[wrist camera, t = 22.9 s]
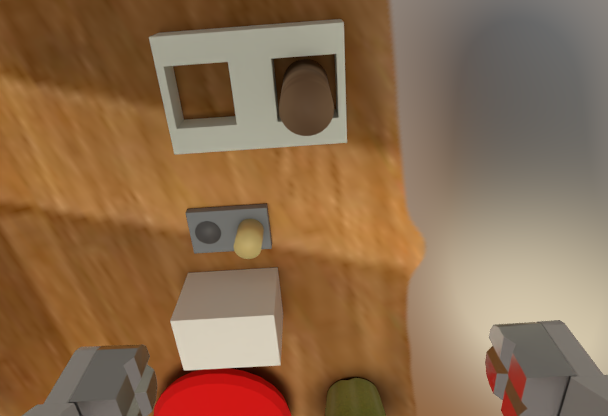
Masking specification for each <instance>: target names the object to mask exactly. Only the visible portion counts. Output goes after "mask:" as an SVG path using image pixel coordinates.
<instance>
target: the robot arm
mask: <svg viewBox="0 0 608 416" xmlns="http://www.w3.org/2000/svg"><path fill="white" fill-rule="evenodd" d="M489 339H490V341H491V343H492V345H493V346H492V347H491V348H490V349H489V350H488V351H487V354H486V361H485V364H486V374H487V378H488V381H489V384H490V387H491V389H492V391H493V393H494V394H495V395H496V396H498V397H499V398H500V399H502V400H503V403H502V408H501V411H502V413H503V415H504V416H608V375H603V374H602V372H601V371H600V370H599V368H598V367H597V366H596V364H595V363H594V362H593V360H592V359H591V358H590V356H589V355H588V354H587V352H586V351H585V350H584V348H583V347H582V346H581V345H580V343H579V342H578V340H577V339H576V338H575V337H574V335H573V334H572V333H571V331H570V330H569V329H568V327H567V326H566V325H565V323H563V322H562V321H560V320H556V321H542V322H529V323H515V324H514V323H513V324H499V325H493V326H492V328H491V329H490V335H489ZM149 357H150V355H149V353H148V350H147V347H146V346H145V345H112V346H96V347H80V348H79V349H77V350H76V351H75V352H74V354H73V356H72V357H71V359H70V361H69V362H68V364H67V366H66V367H65V369H64V371H63V372H62V374H61V376H60V377H59V379H58V381H57V382H56V384H55V386H54V387H53V389H52V391H51V392H50V394H49V396H48V397H47V399H46V401H45V402H44V404H42V405H36V406H35V407H33V408H32V409H30V410H29V411H28V412H26V413H25V414H24V415H22V416H147V415H148V414H149V413H151V412H152V410H153V407H154V404H155V401H156V393H157V379H156V375H155V371H154V369H152V368H151V367H150V366H148V365H147V362H148V360H149Z"/></svg>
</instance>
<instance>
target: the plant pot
mask: <svg viewBox="0 0 608 416" xmlns="http://www.w3.org/2000/svg"><path fill="white" fill-rule="evenodd" d="M325 416H386V414H385V411H384V408H383V405H382V402H381V399H380V396H379V393H378V390H377V388H376V387H375V386H374V385H373V384H372V383H371V382H369V381H367V380H365V379H361V378H353V379H350V380H340V381H338V382H336V383H335V384H333V385H332V386H331V387H330V389H329V390H328V392H327V399H326V408H325Z"/></svg>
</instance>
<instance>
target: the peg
mask: <svg viewBox="0 0 608 416" xmlns="http://www.w3.org/2000/svg"><path fill="white" fill-rule="evenodd" d="M279 114H280V118H281V120H282V122H283V124H284V125H285V127H286V128H287V129H288V130H290V131H291V132H293V133H295V134H297V135H301V136H312V135H316V134H318V133H320V132H322V131H323V130H324V129H326V128H327V126H328V125H329V124H330V122H331V120H332V118H333V115H334V103H333V99H332V95H331V91H330V86H329V82H328V78H327V74H326V72H325V70H324V69H323V67H322V66H321V65H320V64H319V63H317V62H315V61H313V60H309V59H302V60H298V61H296V62H294V63H292V64H291V65H290V66H289V67H288V69H287V70H286V72H285V74H284V78H283V84H282V90H281V97H280V103H279Z"/></svg>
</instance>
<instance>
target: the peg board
mask: <svg viewBox="0 0 608 416" xmlns="http://www.w3.org/2000/svg"><path fill="white" fill-rule="evenodd" d="M149 40H150V45H151V49H152V54H153V58H154V63H155V68H156V72H157V77H158V81H159V86H160V90H161V95H162V100H163V104H164V109H165V113H166V118H167V123H168V127H169V132H170V136H171V141H172V146H173V150H174V155H175V154H189V153H204V152H218V151H233V150H248V149H262V148H277V147H291V146H306V145H321V144H335V143H347V123H346V86H345V49H344V22H343V21H342V19H333V20H320V21H307V22H294V23H281V24H267V25H254V26H241V27H228V28H215V29H202V30H188V31H175V32H162V33H157V34H155V35H153V36H150V37H149ZM327 54H334V57H335V84H336V109H334V115H333V118H332V120H331V122H330V124H329V125H328V126H327V128H326V129H324V130H323V131H322V132H320V133H318V134H316V135H312V136H301V135H297V134H295V133H293V132H291V131H290V130H288V129H287V128H286V127H285V125H284V124H283V122H282V120H281V118H280V114H279V109H278V99H277V89H276V79H275V68H274V58H286V57H300V56H313V55H327ZM219 62H228V66H229V73H230V80H231V87H232V94H233V101H234V108H235V115H236V116H229V117H215V118H201V119H187V120H184V118H183V113H182V108H181V103H180V98H179V93H178V88H177V83H176V78H175V73H174V68H173V66H178V65H192V64H205V63H219Z"/></svg>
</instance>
